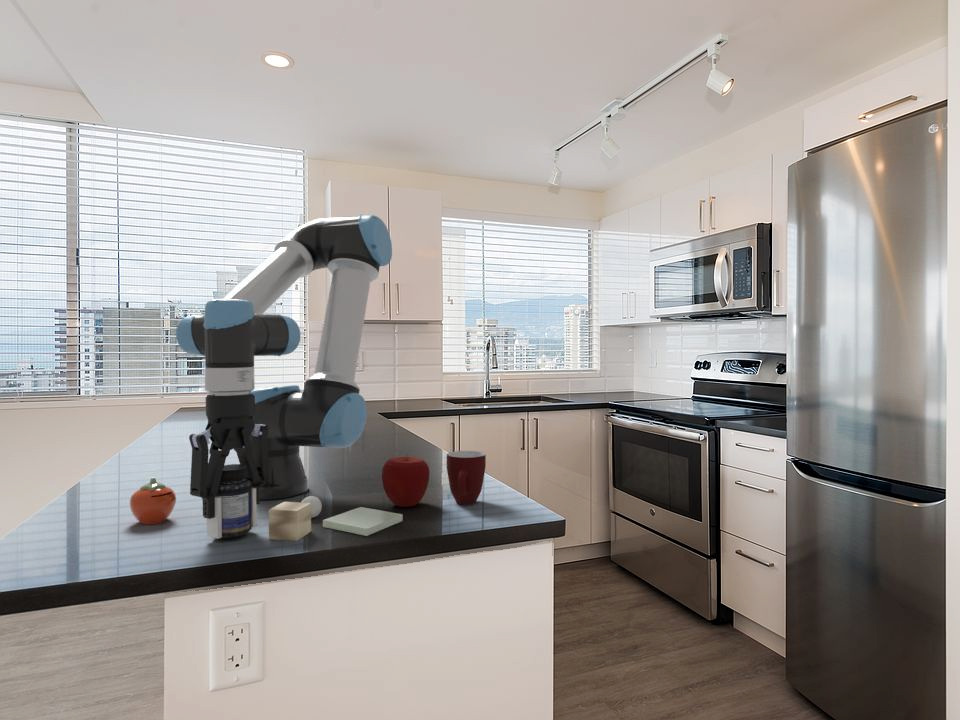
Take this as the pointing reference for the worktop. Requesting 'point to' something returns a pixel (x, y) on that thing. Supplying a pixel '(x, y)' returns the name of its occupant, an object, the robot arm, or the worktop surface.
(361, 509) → the coaster
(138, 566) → the worktop surface
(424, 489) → the apple
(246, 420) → the robot arm
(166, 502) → the tomato
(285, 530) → the maple block
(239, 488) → the pill bottle
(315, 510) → the grey ball
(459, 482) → the mug
